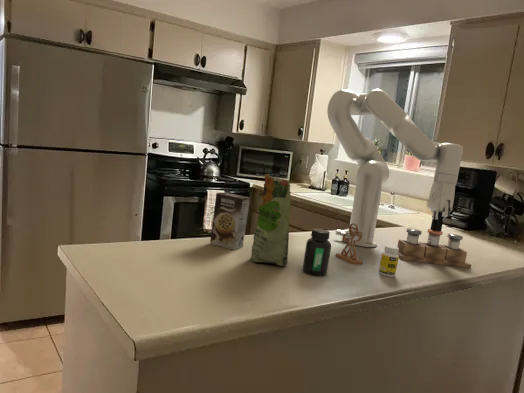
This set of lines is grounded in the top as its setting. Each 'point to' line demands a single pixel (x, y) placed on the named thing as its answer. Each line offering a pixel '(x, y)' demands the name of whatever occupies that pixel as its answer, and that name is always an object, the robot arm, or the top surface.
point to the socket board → (432, 254)
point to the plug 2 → (454, 241)
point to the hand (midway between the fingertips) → (435, 230)
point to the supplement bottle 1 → (317, 253)
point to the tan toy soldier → (343, 254)
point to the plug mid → (433, 238)
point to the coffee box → (229, 220)
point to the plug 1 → (413, 236)
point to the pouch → (273, 223)
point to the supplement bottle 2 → (389, 261)
